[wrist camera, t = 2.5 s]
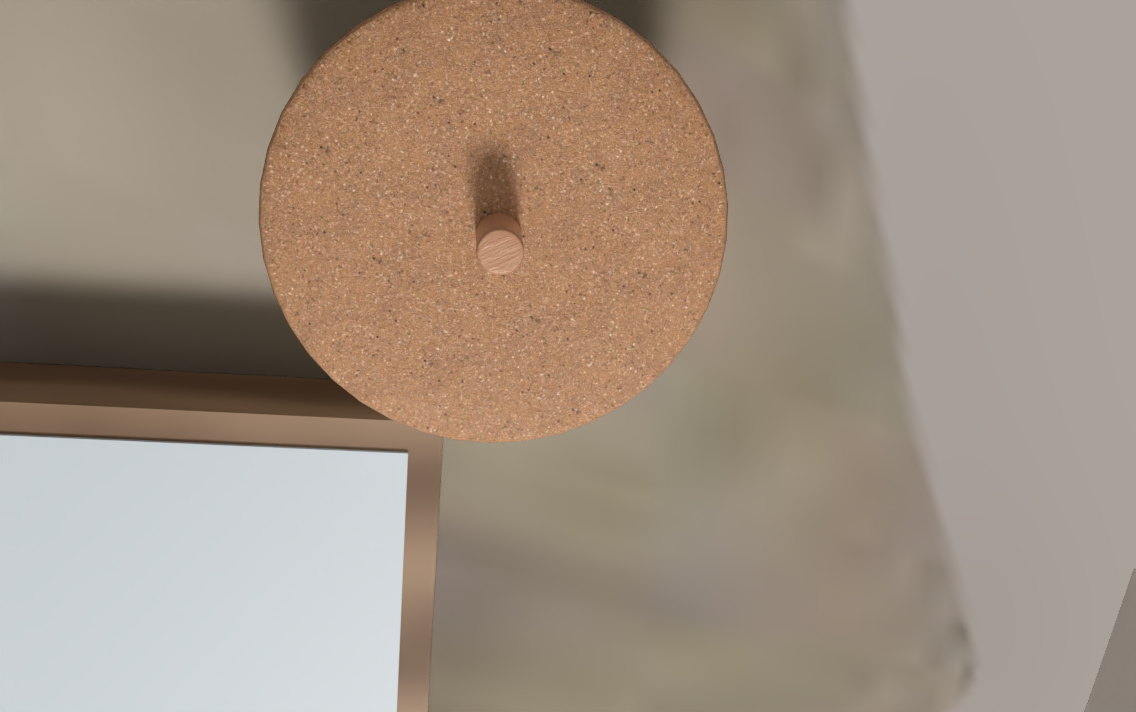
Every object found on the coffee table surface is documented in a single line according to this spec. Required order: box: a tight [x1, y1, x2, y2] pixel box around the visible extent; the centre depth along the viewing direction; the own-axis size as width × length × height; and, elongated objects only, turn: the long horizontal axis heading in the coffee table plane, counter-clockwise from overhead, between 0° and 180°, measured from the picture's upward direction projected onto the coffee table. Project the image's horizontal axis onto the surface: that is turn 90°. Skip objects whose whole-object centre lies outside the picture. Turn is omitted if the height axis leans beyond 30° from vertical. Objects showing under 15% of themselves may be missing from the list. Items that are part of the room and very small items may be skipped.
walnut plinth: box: [0, 362, 443, 712], centre depth 33 cm, size 16×16×3 cm
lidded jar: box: [259, 0, 728, 443], centre depth 26 cm, size 11×11×9 cm
